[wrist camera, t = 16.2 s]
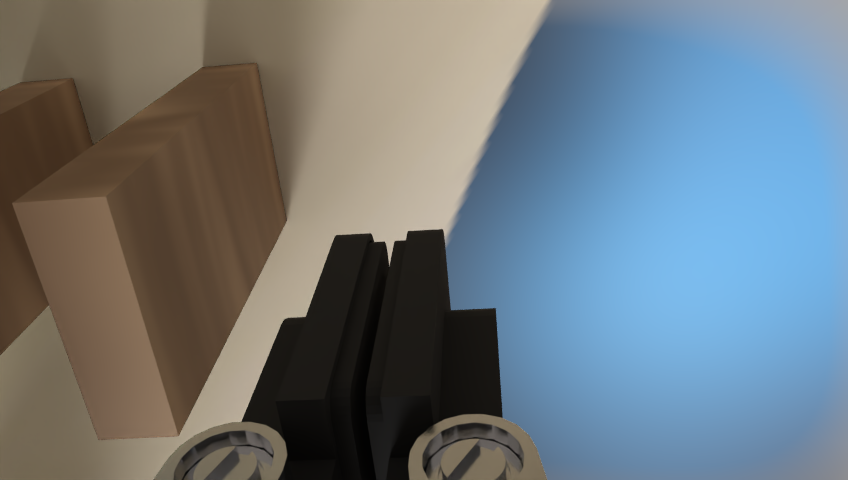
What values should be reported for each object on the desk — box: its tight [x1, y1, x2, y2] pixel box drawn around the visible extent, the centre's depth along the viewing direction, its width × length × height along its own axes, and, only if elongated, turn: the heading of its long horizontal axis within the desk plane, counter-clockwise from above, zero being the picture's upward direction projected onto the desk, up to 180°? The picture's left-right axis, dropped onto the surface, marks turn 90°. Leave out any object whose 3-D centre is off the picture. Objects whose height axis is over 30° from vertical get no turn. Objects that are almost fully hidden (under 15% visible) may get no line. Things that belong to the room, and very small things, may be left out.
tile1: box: [12, 63, 287, 440], centre depth 17 cm, size 2×5×10 cm, turn 5°
